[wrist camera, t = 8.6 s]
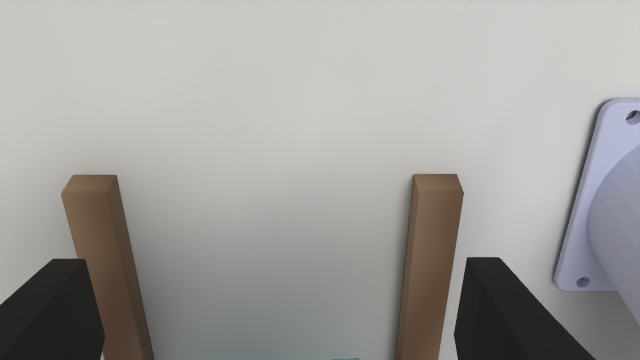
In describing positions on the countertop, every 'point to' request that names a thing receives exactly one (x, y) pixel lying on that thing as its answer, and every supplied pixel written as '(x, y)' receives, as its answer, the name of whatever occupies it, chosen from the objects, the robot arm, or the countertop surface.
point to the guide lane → (124, 294)
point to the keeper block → (348, 359)
